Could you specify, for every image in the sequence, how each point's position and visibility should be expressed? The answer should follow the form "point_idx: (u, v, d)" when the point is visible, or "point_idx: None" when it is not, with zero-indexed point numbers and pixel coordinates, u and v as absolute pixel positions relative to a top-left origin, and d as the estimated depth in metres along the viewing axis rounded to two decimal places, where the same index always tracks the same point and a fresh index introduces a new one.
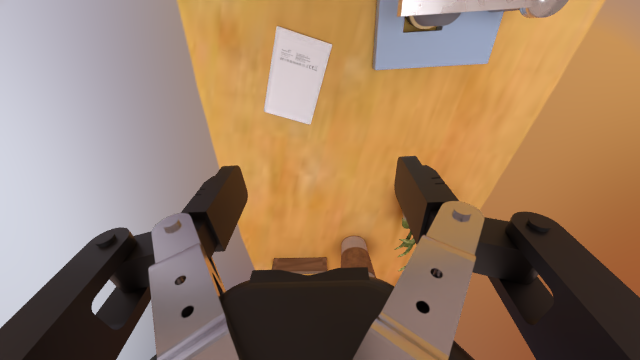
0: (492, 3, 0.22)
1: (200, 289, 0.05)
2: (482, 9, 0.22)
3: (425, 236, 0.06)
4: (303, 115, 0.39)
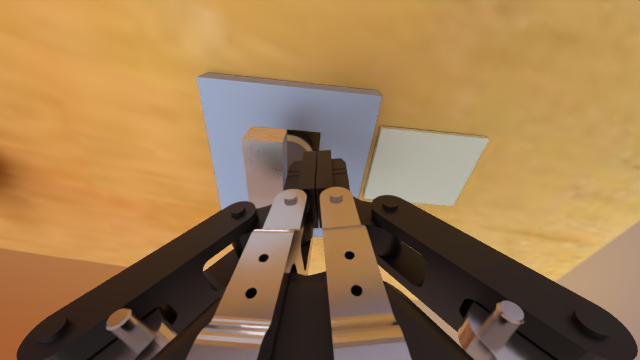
0: None
1: (270, 278, 0.05)
2: None
3: (324, 229, 0.06)
4: None
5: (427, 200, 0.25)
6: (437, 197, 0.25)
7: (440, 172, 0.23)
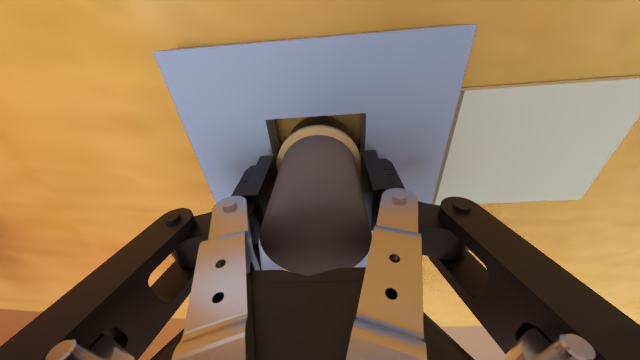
0: None
1: (234, 279, 0.05)
2: None
3: (376, 226, 0.06)
4: None
5: (537, 196, 0.16)
6: (555, 189, 0.16)
7: (564, 150, 0.14)
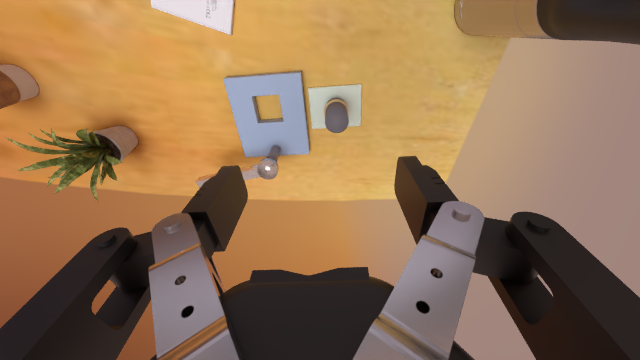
0: None
1: (200, 289, 0.05)
2: None
3: (425, 236, 0.06)
4: None
5: None
6: (350, 121, 0.47)
7: None
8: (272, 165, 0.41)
